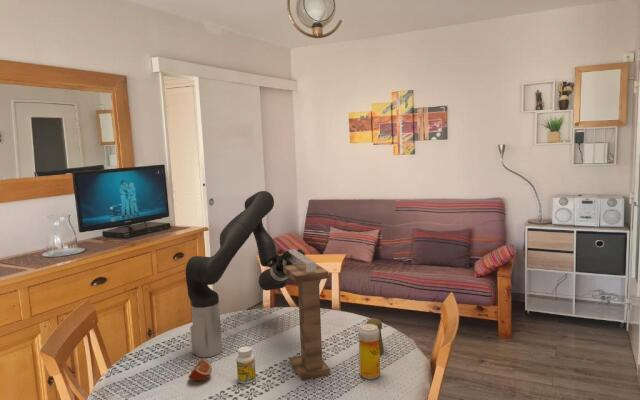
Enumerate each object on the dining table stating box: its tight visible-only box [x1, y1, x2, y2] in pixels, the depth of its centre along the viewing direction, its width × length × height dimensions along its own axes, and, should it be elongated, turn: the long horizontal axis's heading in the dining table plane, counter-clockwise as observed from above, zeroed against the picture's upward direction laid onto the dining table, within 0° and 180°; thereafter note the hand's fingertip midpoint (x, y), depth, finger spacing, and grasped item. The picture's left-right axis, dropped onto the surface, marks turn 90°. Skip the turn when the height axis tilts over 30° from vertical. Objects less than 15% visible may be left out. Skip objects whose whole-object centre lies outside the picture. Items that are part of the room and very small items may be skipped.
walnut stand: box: [283, 263, 331, 382], centre depth 145 cm, size 13×10×32 cm
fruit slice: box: [188, 357, 213, 382], centre depth 143 cm, size 8×7×5 cm
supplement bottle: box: [235, 346, 257, 385], centre depth 141 cm, size 5×5×10 cm
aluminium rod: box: [285, 248, 317, 274], centre depth 147 cm, size 20×3×3 cm, turn 21°
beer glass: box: [358, 323, 381, 380], centre depth 140 cm, size 6×6×15 cm
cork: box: [366, 318, 385, 356], centre depth 156 cm, size 6×6×11 cm
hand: (294, 252), depth 152 cm, fingers open, 3 cm apart
